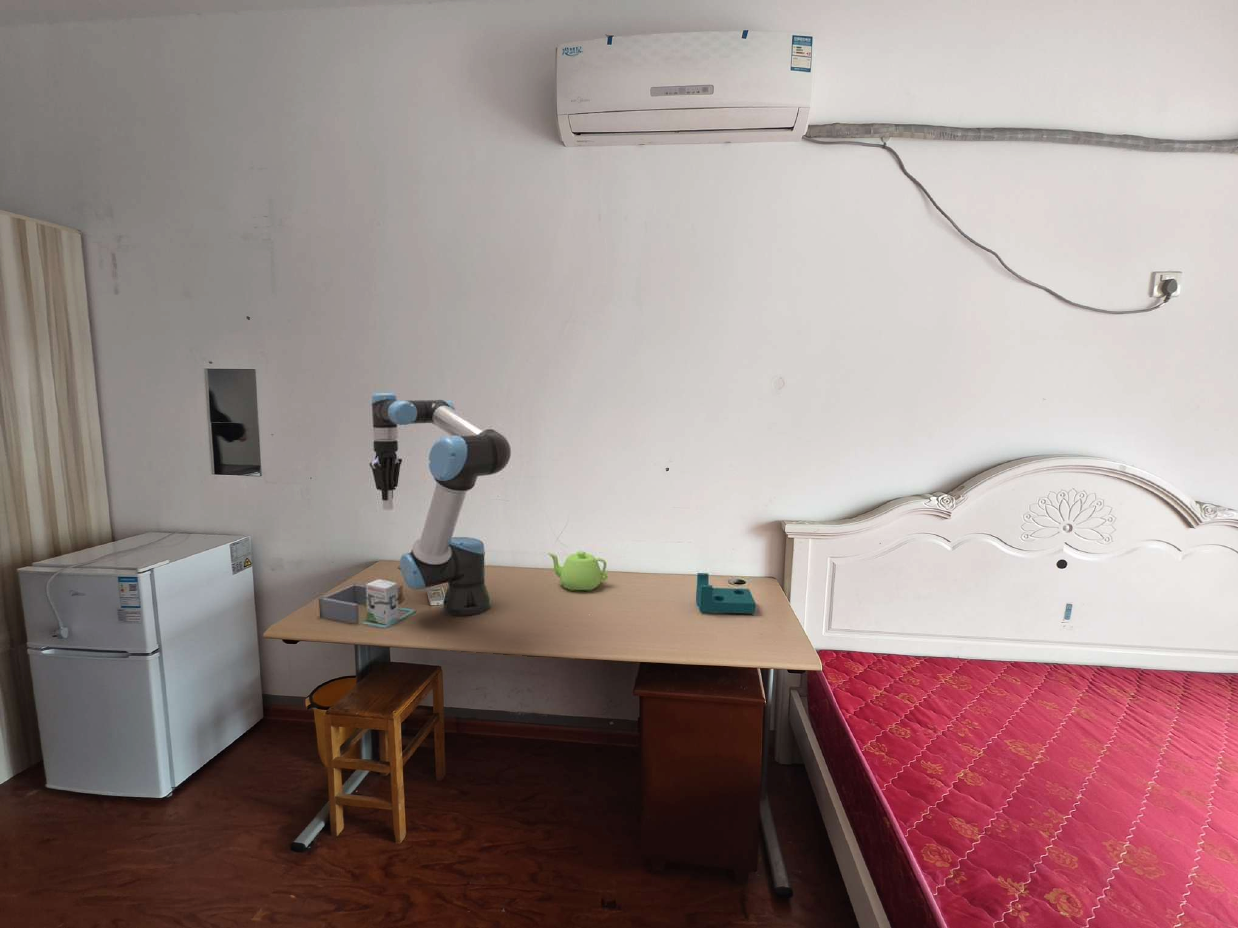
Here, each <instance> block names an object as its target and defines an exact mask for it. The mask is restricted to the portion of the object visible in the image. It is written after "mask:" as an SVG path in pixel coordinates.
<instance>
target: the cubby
mask: <svg viewBox="0 0 1238 928" xmlns="http://www.w3.org/2000/svg"><path fill="white" fill-rule="evenodd" d="M359 604H360V605H365V606H367V600H366V584H365V585H364V584H357V583H353V584H351V585H348V586H345V587H343V588H341V589H338V590H336V591H334V592H332V593H329V594H327V595H324V596H321V597H320V598H318V606H319V607H318V608H319V618H323V619H328V620H333V621H337V622H343V623H347V624H353V625H358V624H359V623H360V618H359V617H360V615H359V613H360V612H359Z"/></svg>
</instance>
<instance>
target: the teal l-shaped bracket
mask: <svg viewBox="0 0 1238 928" xmlns="http://www.w3.org/2000/svg"><path fill="white" fill-rule="evenodd" d="M755 601H756V600H755V599H754V597H753V595H752V592H751V590H750V589H749V588H733V587H732V588H726V587H724V588H723V587H714V586H713V585H712V584H710V583H709V573H707V572H697V577H696V592H695V602H696V606H698V607H699V608H698V607H697V608H698V609H699V613H714V614H716V613H719V614H720V613H723V614H725V613H726V614H751V613H755V614H756V606H757V605H756V604H757V603H756V602H755Z"/></svg>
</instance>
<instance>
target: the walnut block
mask: <svg viewBox="0 0 1238 928" xmlns="http://www.w3.org/2000/svg"><path fill="white" fill-rule="evenodd" d="M397 585H398V603H399V602H401V601H402V600H403V599H404V593H403V584H398V583H397Z"/></svg>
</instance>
